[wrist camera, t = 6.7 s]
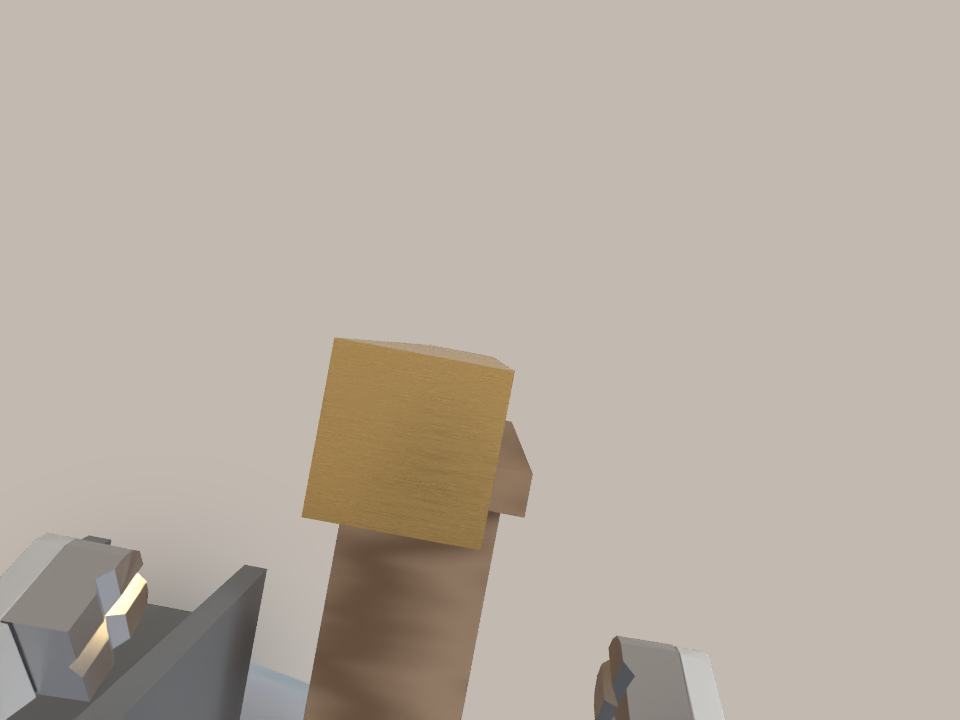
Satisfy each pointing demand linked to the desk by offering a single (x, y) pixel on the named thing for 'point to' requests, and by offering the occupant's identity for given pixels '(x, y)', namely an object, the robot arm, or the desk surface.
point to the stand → (407, 614)
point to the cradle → (174, 662)
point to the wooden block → (409, 440)
